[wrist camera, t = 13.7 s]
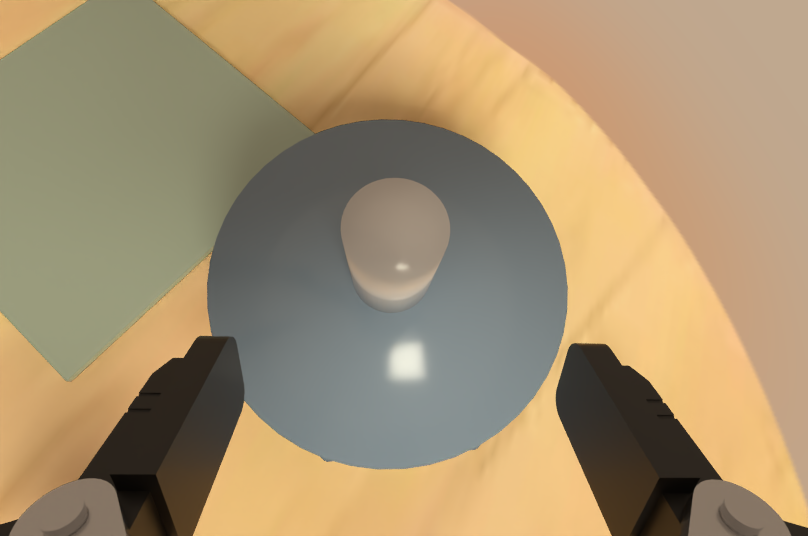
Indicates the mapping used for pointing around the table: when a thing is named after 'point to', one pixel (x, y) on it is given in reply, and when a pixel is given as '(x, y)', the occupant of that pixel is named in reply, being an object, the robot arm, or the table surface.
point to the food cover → (388, 293)
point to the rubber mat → (118, 170)
